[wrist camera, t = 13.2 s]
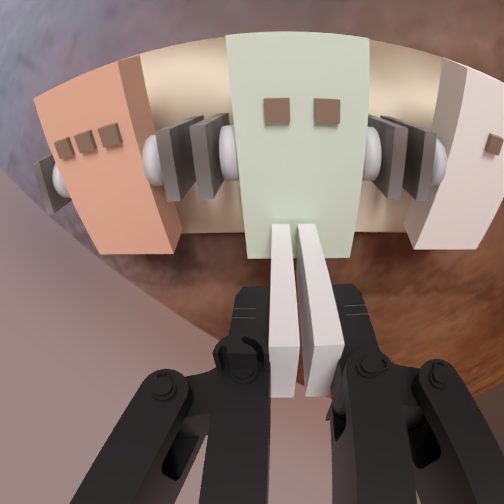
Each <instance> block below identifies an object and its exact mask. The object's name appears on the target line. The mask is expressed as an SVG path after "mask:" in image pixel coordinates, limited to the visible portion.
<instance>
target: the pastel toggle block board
mask: <svg viewBox="0 0 504 504" xmlns="http://www.w3.org/2000/svg"><path fill="white" fill-rule="evenodd" d="M369 51H370V81H369V109H368V127H374V128H375V129H376V130H377V132H378V135H379V138H380V143H381V166H380V171H379V174H378V176H377V178H376V180H374V181H362V186H361V193H360V200H359V207H358V213H357V220H356V226H355V231H354V232H406V230H405V227H404V225H403V224H404V221H405V218H406V215H407V213H408V210H409V207H410V204H411V201H412V198H414V199H415V200H416V201H426V202H427V200H428V195H429V190H430V184H431V178H432V171H433V165H434V157H435V149H436V139H437V133H434V132H432V131H431V127H432V122H433V117H434V112H435V107H436V101H437V95H438V89H439V82H440V74H441V65H442V57H439V56H436V55H433V54H430V53H426V52H423V51H419V50H415V49H412V48H408V47H403V46H399V45H395V44H390V43H385V42H380V41H374V40H369ZM138 55H140V59H141V65H142V70H143V75H144V80H145V85H146V90H147V95H148V99H149V104H150V108H151V113H152V117H153V121H154V126H155V130H156V131H155V134H156V141H157V147H158V154H159V160H160V165H161V171H162V177H163V182H164V187H165V193H166V198H167V202H173V201H174V202H175V205H176V209H177V212H178V215H179V219H180V222H181V225H182V229H183V230H182V233H181V234H184V233H228V232H245V228H244V219H243V209H242V199H241V190H240V180H236V181H225V180H224V178H223V175H222V171H221V165H220V156H219V137H220V131H221V128H222V126H229V125H234V121H233V110H232V100H231V90H230V80H229V70H228V59H227V49H226V38H225V37H220V38H212V39H206V40H199V41H194V42H188V43H183V44H178V45H173V46H169V47H165V48H161V49H157V50H153V51H149V52H145V53H142V54H138ZM138 55H135V56H138ZM132 57H134V56H132ZM128 58H130V57H128ZM125 59H127V58H125ZM122 60H123V59H122ZM119 61H120V60H119ZM116 62H117V61H116ZM113 63H114V62H113ZM102 67H103V66H102ZM82 75H83V74H82ZM54 165H55V160H54V158H53V155H52V154H51V155H49V156H47V157H45V158H43V159H41V160H39V161H37V162H35V163H33V167H34V171H35V175H36V178H37V182H38V185H39V189H40V192H41V196H42V199H43V202H44V205H45V208H46V211H47V214H48V215H49V214H55V213H56V212H57V211H58V210H60V209H61V208H62V207H63V206H65V205H66V204H67V203H69V202H70V201H71V200H72V199H71V198H63V197H61V196H60V195H59V194H58V193H57V191H56V190H55V187H54V184H53V168H54ZM503 199H504V197H503Z"/></svg>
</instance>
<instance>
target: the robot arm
mask: <svg viewBox="0 0 504 504" xmlns="http://www.w3.org/2000/svg"><path fill="white" fill-rule="evenodd" d="M296 277H297V287H298V298H299V310H300V322H301V335H302V350H303V365H304V383H305V397H317V396H329V393H330V390H331V394H332V403H331V406H330V408H329V411H328V413H327V417H326V421H328V420H330V425H331V445H332V486H333V487H332V504H417V499H416V491H417V493H418V496H419V498H420V501H421V504H504V456H503V454H502V451H501V449H500V447H499V445H498V443H497V441H496V439H495V437H494V435H493V434H492V431H491V429H490V427H489V426H488V424H487V422H486V420H485V418H484V416H483V415H482V413H481V411H480V409H479V407H478V406H477V404H476V402H475V401H474V399H473V397H472V396H471V394H470V392H469V391H468V389H467V387H466V386H465V384H464V382H463V381H462V379H461V378H460V376H459V375H458V373H457V372H456V370H455V369H454V368H453V367H452V365H451V364H450V363H448V362H446V361H444V360H440V359H433V360H428V361H427V362H426V363H424V364H423V365H422V367H421V368H413V367H406V366H401V365H397V364H394V363H392V362H390V360H389V358H388V357H387V356H386V355H385V354H383V353H382V352H381V351H380V349H379V347H378V344H377V340H376V337H375V334H374V331H373V327H372V324H371V321H370V318H369V315H368V312H367V309H366V306H365V303H364V300H363V297H362V294H361V292H360V291H359V290H358V289H357V288H356V287H355V286H354V285H353V284H336V285H331V281H330V277H329V273H328V270H327V266H326V262H325V258H324V254H323V251H322V247H321V243H320V240H319V236H318V232H317V229H316V226H315V224H298V235H297V269H296ZM299 350H300V341H299V326H298V312H297V299H296V287H295V275H294V264H293V254H292V244H291V234H290V225H289V224H272V246H271V287H243V288H242V289H241V290H240V292H239V293H238V294H237V295H236V298H235V304H234V310H233V315H232V321H231V327H230V332H229V336H227V337H225V338H223V339H222V340H221V341H220V342H218V344H216V346H215V348H214V350H213V357H214V360H215V364H216V368H214V369H212V370H211V371H209V372H205V373H202V374H197V375H192V376H187V377H184V376H183V375H182V374H181V373H179V372H177V371H175V370H171V369H162V370H157V371H156V372H153V373H151V374H150V375H148V376H147V378H146V379H145V380H144V381H143V382H142V384H141V385H140V387H139V389H138V390H137V392H136V393H135V395H134V397H133V398H132V400H131V402H130V403H129V405H128V406H127V408H126V410H125V411H124V413H123V414H122V416H121V418H120V419H119V421H118V423H117V424H116V426H115V427H114V429H113V431H112V433H111V434H110V436H109V437H108V439H107V441H106V443H105V444H104V446H103V447H102V449H101V451H100V452H99V454H98V456H97V457H96V459H95V461H94V462H93V464H92V466H91V468H90V469H89V471H88V473H87V474H86V476H85V478H84V480H83V481H82V483H81V485H80V486H79V488H78V490H77V492H76V494H75V495H74V497H73V499H72V500H71V502H70V504H174V503H175V501H176V499H177V497H178V495H179V493H180V490H181V488H182V486H183V484H184V482H185V480H186V478H187V475H188V473H189V471H190V469H191V467H192V465H193V463H194V460H195V458H196V456H197V454H198V452H199V449H200V447H201V445H202V443H203V441H204V438H205V436H206V435H208V440H207V447H206V454H205V461H204V468H203V475H202V483H201V490H200V498H199V504H268V491H269V490H268V489H269V459H270V458H269V457H270V404H271V398H289V397H294V392H295V384H296V376H297V368H298V359H299Z"/></svg>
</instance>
